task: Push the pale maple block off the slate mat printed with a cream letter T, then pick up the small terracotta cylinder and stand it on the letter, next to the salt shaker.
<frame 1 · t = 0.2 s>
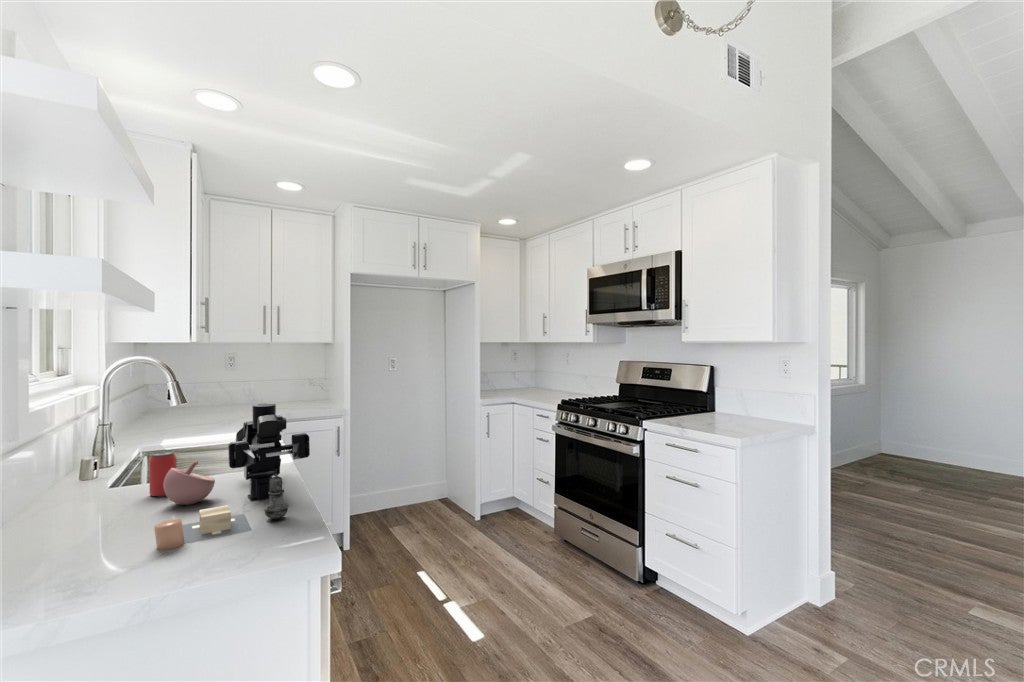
hand: (275, 457, 124), 16 cm above the countertop, tool horizontal, fingers open, 9 cm apart
salt shaker: (276, 522, 127), on the countertop
mortar and pestle: (190, 504, 141), on the countertop
beer can: (163, 494, 150), on the countertop
terracotta cylinder: (170, 545, 112), on the countertop, tilted 5°, touching letter mat
maple block: (215, 527, 122), resting on letter mat
letter mat: (215, 529, 122), on the countertop
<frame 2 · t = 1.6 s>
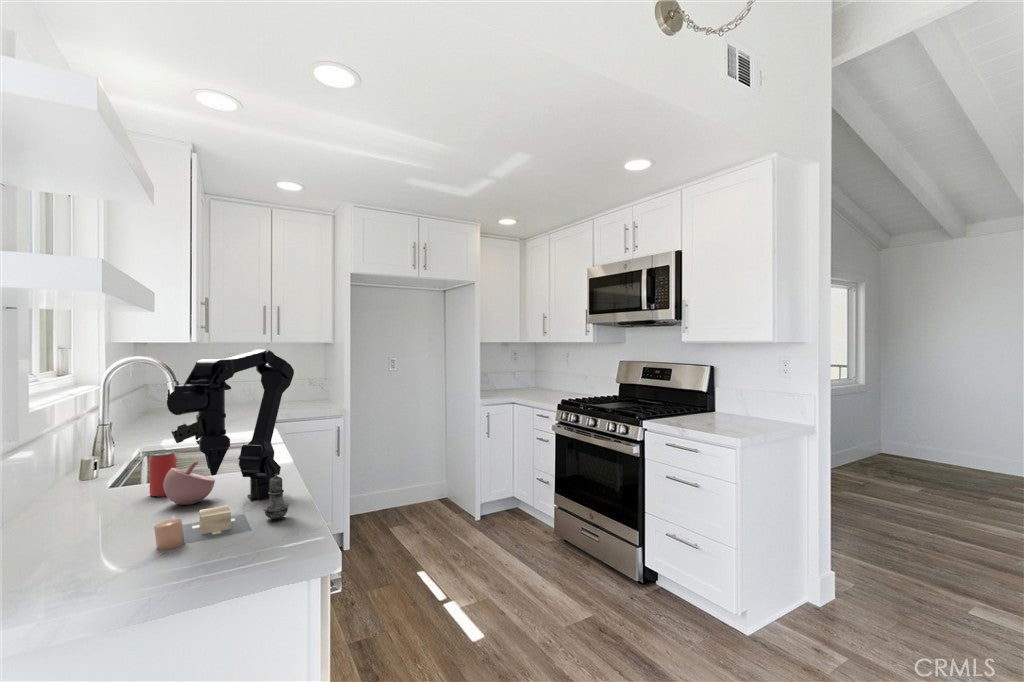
hand: (212, 471, 128), 12 cm above the countertop, tool pointing down, fingers open, 8 cm apart
nothing on the countertop moved.
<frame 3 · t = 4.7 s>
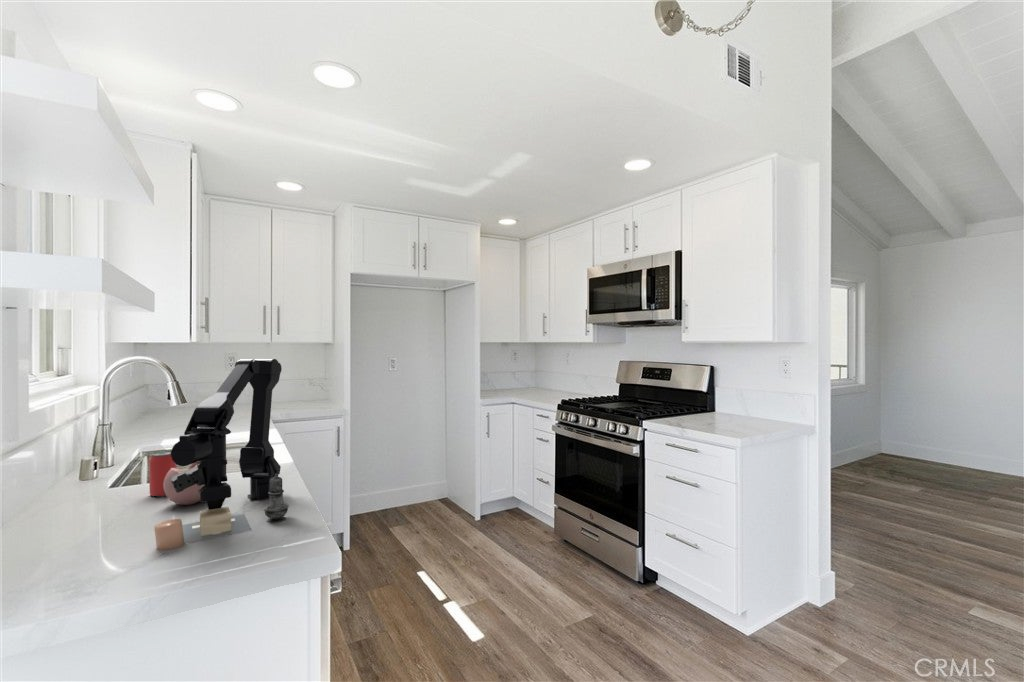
hand: (213, 519, 125), 1 cm above the countertop, tool pointing down, fingers closed
maple block: (215, 529, 121), resting on letter mat, touching gripper
everything else where it was.
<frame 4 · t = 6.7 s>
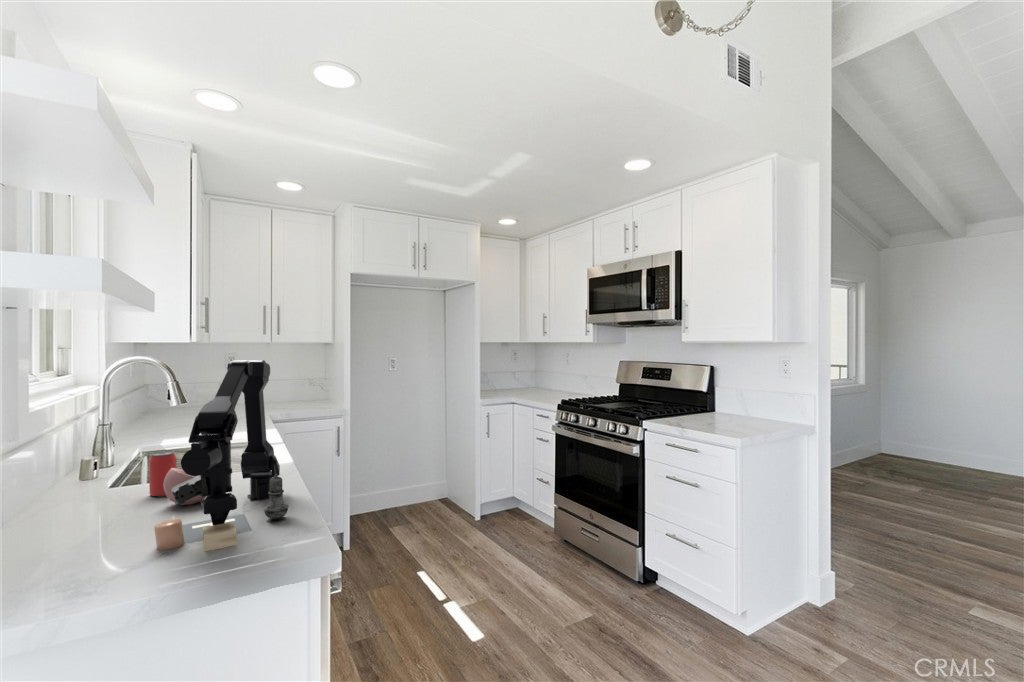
hand: (217, 532, 116), 1 cm above the countertop, tool pointing down, fingers closed
maple block: (219, 546, 112), on the countertop
everything else where it was.
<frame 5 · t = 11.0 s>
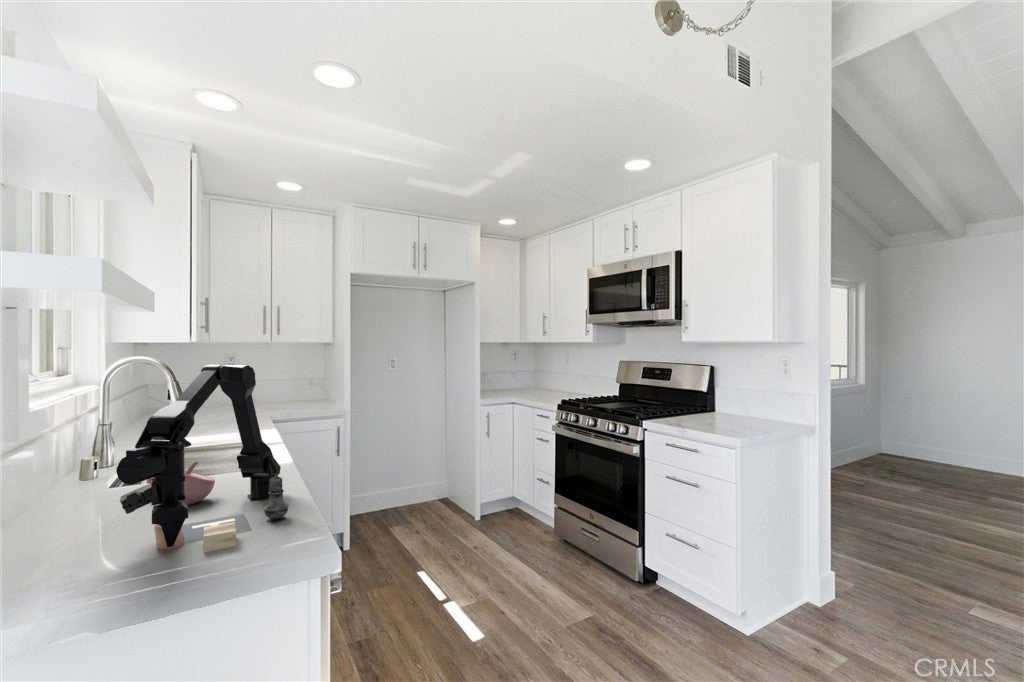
hand: (170, 542, 111), 1 cm above the countertop, tool pointing down, fingers closed on terracotta cylinder, 5 cm apart
terracotta cylinder: (170, 545, 112), on the countertop, tilted 5°, touching gripper, letter mat
everything else where it was.
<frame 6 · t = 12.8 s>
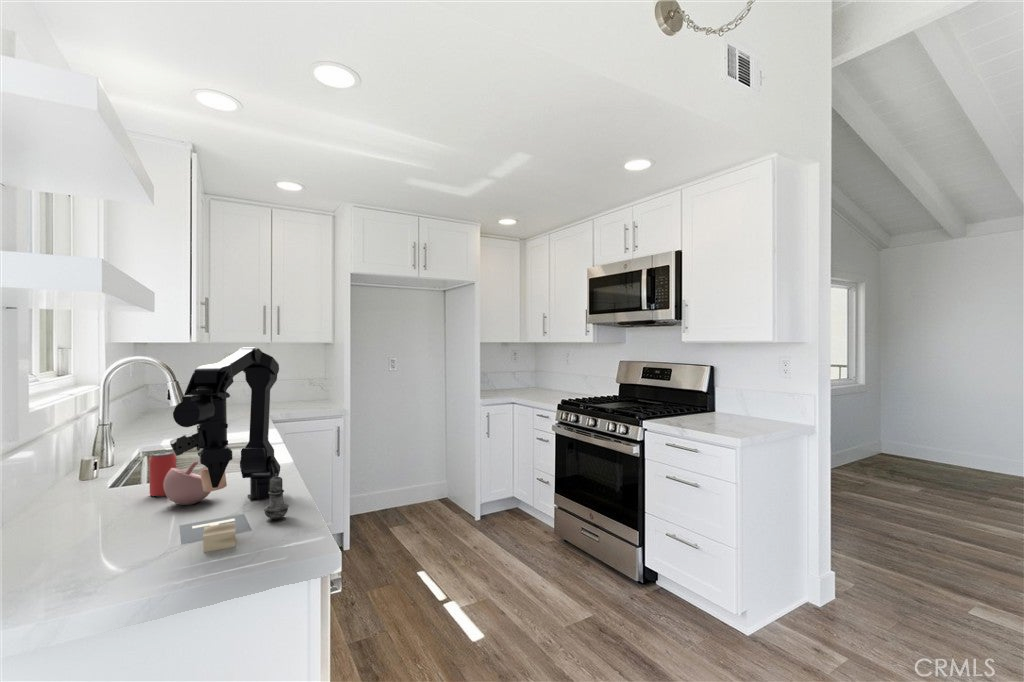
hand: (214, 484, 121), 11 cm above the countertop, tool pointing down, fingers closed on terracotta cylinder, 5 cm apart
terracotta cylinder: (214, 487, 121), point 10 cm above the countertop, tilted 6°, touching gripper
everything else where it was.
when the fingers open (3 cm above the countertop, at t = 14.7 s): terracotta cylinder drops 1 cm, resting on letter mat.
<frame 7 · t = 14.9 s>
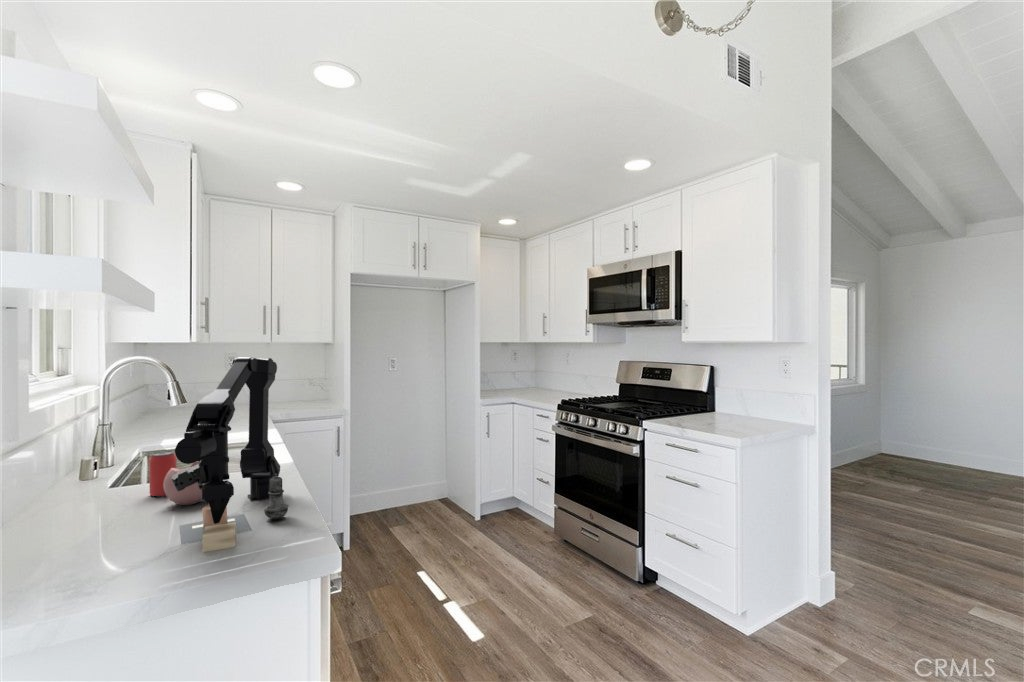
hand: (215, 518, 122), 3 cm above the countertop, tool pointing down, fingers open, 7 cm apart
terracotta cylinder: (215, 527, 122), point 1 cm above the countertop, touching letter mat
everything else where it was.
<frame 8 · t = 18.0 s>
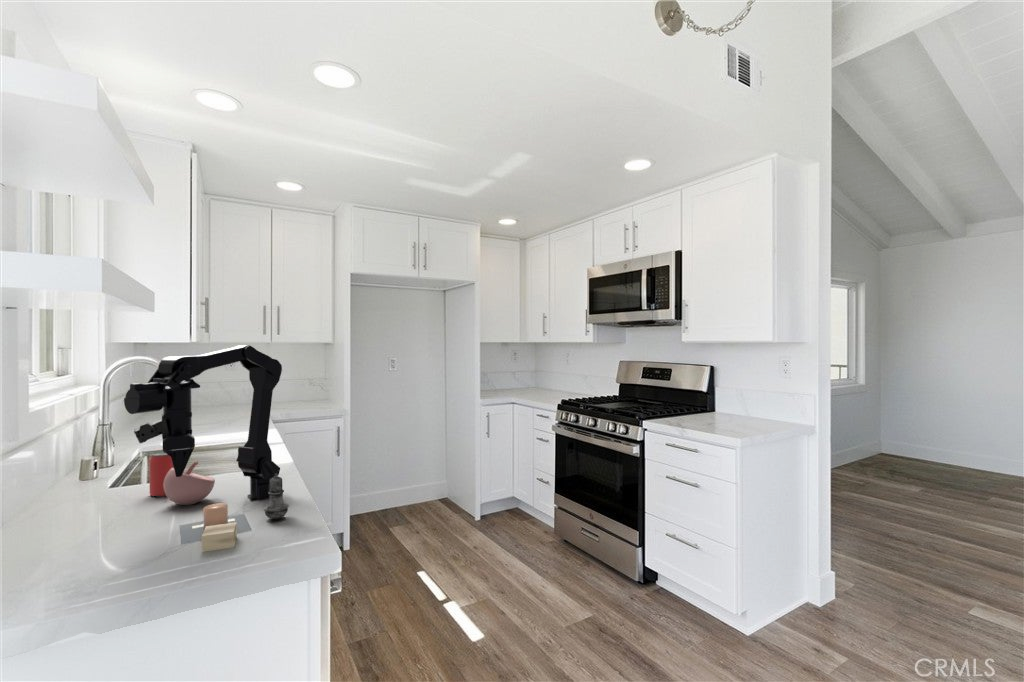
hand: (178, 472, 124), 13 cm above the countertop, tool pointing down, fingers open, 9 cm apart
nothing on the countertop moved.
at the end: maple block inside the target area (6.4 cm from its centre), on the countertop; terracotta cylinder inside the target area on the letter mat (0.2 cm from its centre), point 0.4 cm above the letter mat's base; terracotta cylinder tilted 0° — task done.
